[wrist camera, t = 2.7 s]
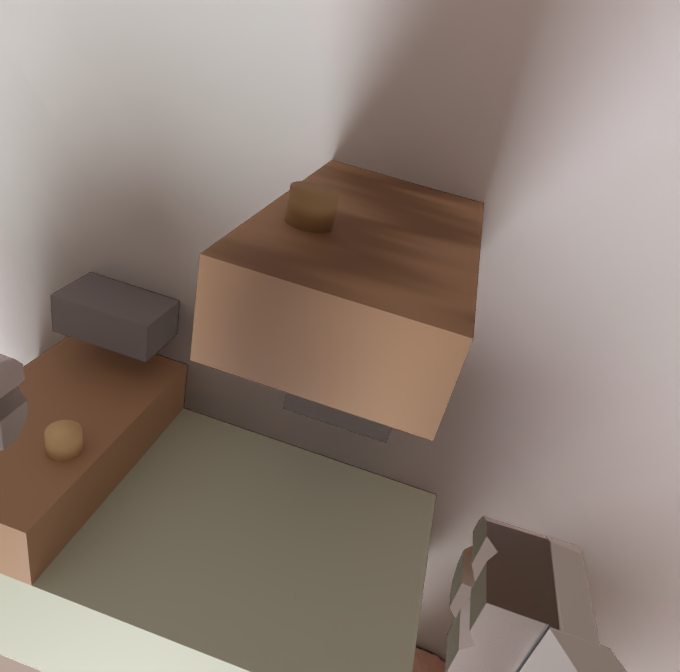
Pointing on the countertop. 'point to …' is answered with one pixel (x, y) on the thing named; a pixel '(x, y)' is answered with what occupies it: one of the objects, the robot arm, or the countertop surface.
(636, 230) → the countertop surface
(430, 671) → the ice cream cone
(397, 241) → the wooden block with peg
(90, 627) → the cabinet
